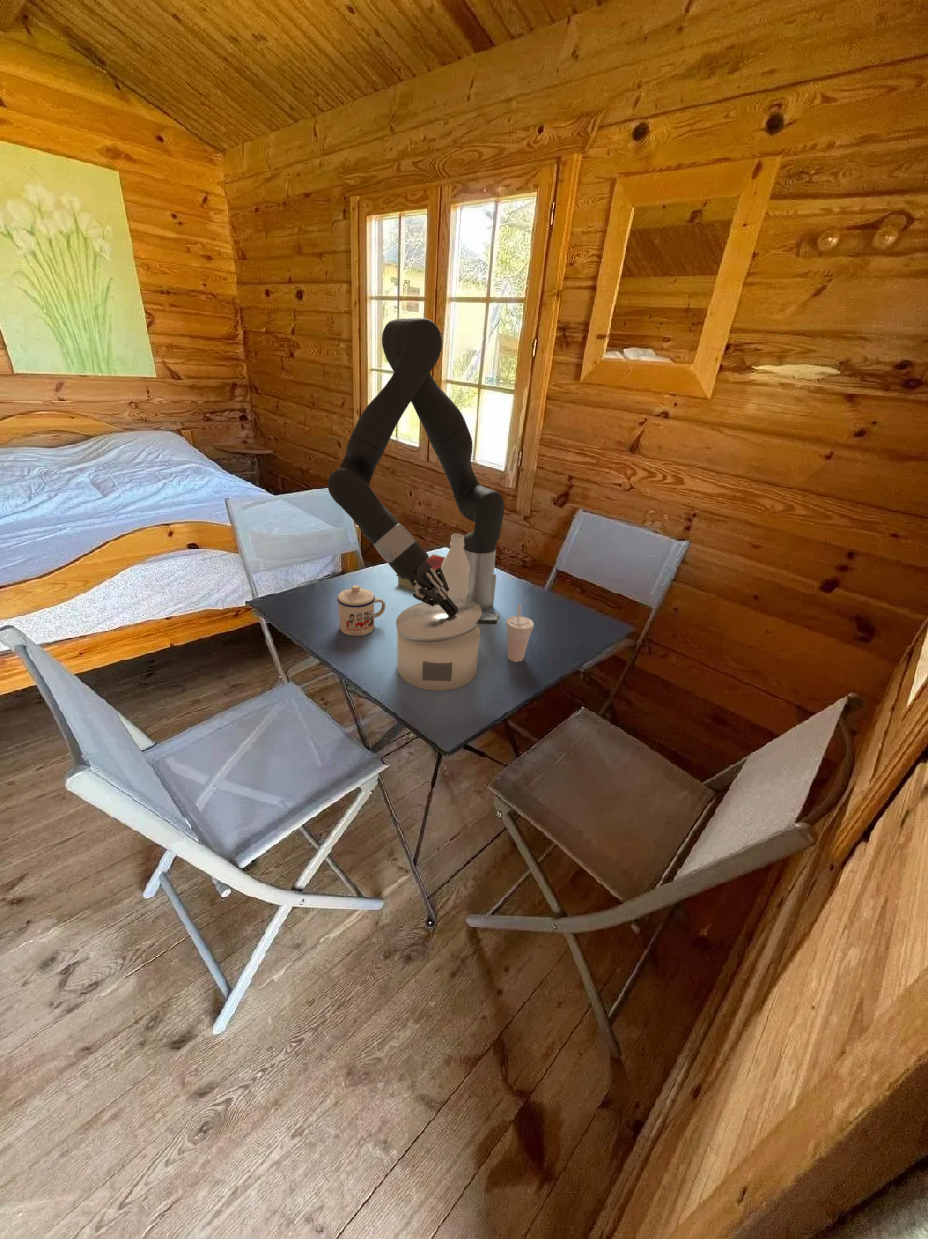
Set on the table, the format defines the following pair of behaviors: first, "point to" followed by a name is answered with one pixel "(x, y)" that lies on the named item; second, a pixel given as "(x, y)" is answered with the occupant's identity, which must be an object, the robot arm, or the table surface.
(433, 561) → the hardcover book
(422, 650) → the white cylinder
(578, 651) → the table surface
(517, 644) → the smoothie
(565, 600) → the table surface
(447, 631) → the cooker lid
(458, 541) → the water bottle
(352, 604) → the teacup with lid
